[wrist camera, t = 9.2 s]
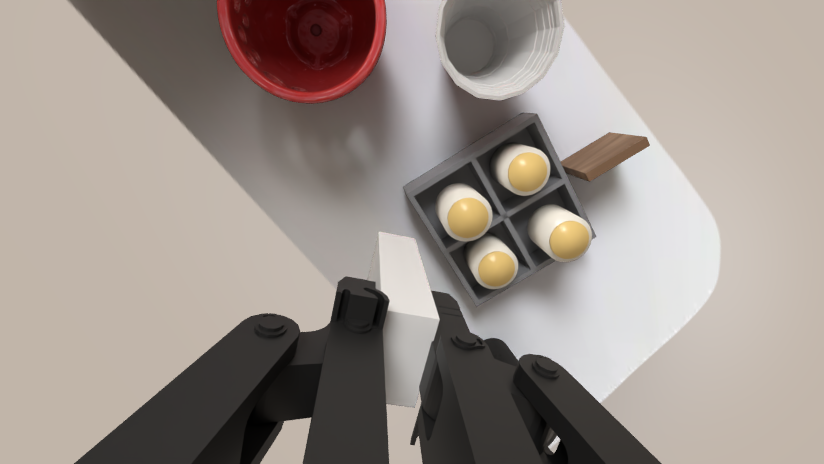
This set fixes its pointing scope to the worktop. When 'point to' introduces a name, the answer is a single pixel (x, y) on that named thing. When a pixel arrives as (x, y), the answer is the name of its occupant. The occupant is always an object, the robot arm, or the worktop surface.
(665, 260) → the worktop surface
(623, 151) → the placard
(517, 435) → the robot arm
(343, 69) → the plant pot
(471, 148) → the button board
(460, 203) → the button
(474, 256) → the button
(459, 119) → the worktop surface
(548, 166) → the button
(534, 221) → the button
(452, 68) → the plastic cup
